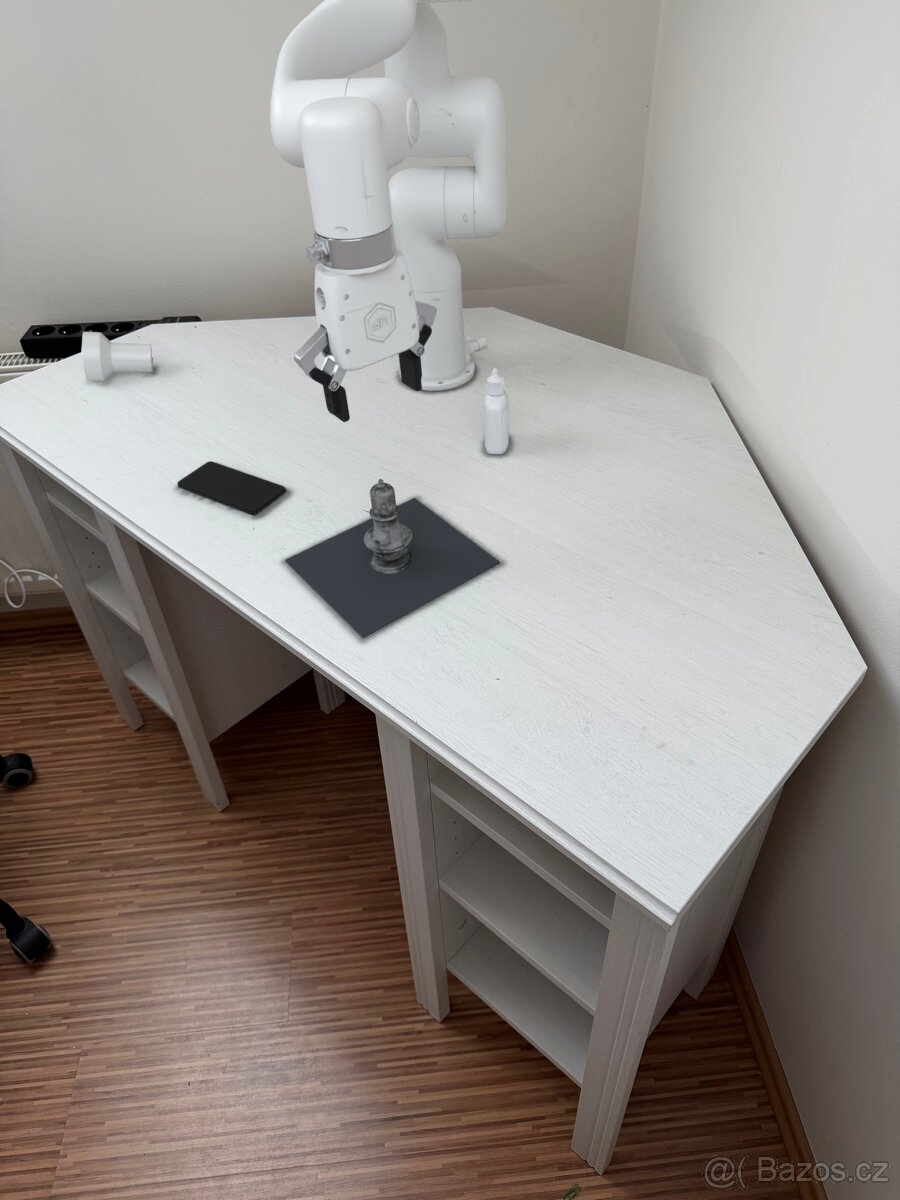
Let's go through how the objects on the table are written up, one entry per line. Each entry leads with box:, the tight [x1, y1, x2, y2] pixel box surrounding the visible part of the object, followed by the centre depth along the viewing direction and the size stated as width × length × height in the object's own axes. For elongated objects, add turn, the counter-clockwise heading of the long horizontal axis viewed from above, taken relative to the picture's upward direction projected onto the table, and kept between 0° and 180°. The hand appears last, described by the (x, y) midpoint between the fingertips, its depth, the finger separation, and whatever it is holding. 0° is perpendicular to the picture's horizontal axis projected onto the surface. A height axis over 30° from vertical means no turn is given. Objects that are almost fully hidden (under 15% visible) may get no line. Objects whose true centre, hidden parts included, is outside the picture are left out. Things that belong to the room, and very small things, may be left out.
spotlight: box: [80, 331, 154, 382], centre depth 143 cm, size 8×11×8 cm
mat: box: [284, 497, 501, 639], centre depth 103 cm, size 20×18×1 cm
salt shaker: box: [364, 478, 412, 574], centre depth 99 cm, size 6×6×12 cm
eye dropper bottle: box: [483, 367, 510, 455], centre depth 118 cm, size 4×6×12 cm
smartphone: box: [177, 460, 287, 516], centre depth 117 cm, size 7×1×15 cm
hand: (376, 401), depth 93 cm, fingers open, 9 cm apart
